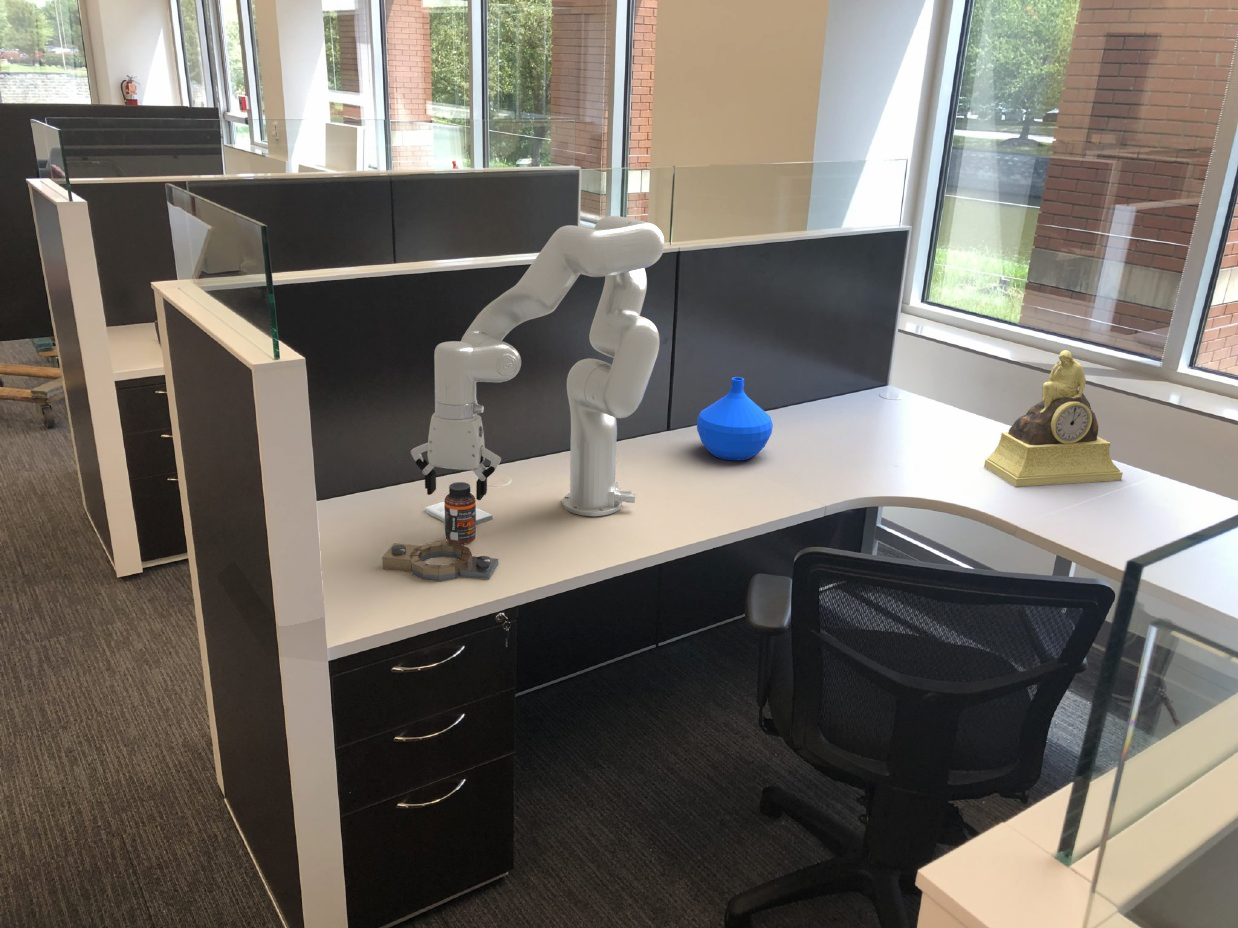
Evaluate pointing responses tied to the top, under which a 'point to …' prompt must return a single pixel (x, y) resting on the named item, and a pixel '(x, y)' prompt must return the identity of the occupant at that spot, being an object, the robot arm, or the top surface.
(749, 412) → the vase
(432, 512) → the external hard drive
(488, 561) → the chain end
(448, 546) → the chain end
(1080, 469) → the decorative clock
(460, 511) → the supplement bottle
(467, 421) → the robot arm
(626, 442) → the top surface
